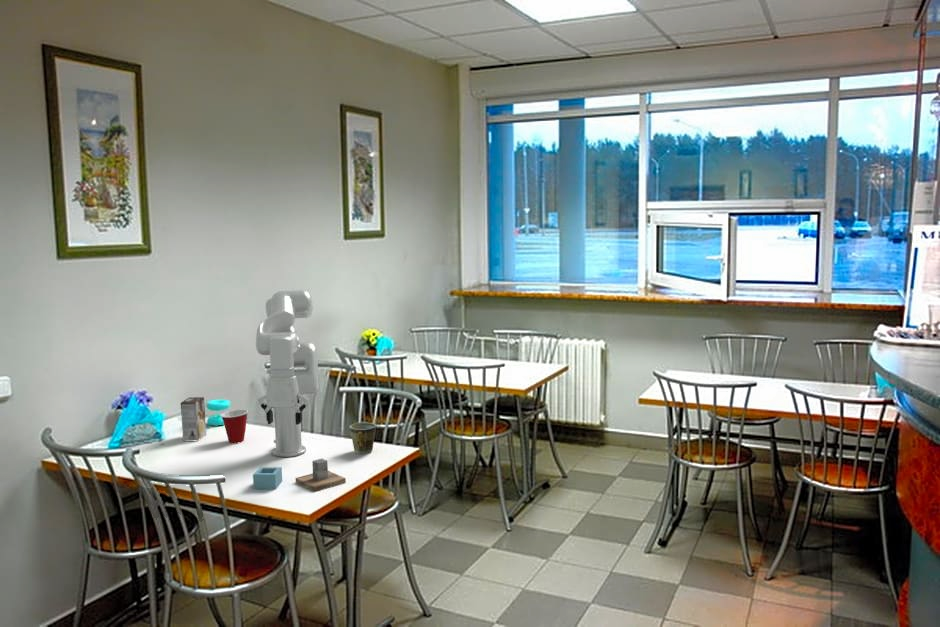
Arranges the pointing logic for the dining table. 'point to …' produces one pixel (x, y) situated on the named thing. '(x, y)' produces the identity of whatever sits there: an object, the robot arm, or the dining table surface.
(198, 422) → the coffee box
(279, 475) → the blue hollow block
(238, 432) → the plastic cup
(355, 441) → the ceramic cup
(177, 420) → the dining table surface
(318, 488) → the post base
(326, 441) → the dining table surface
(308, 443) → the dining table surface
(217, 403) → the donuts
